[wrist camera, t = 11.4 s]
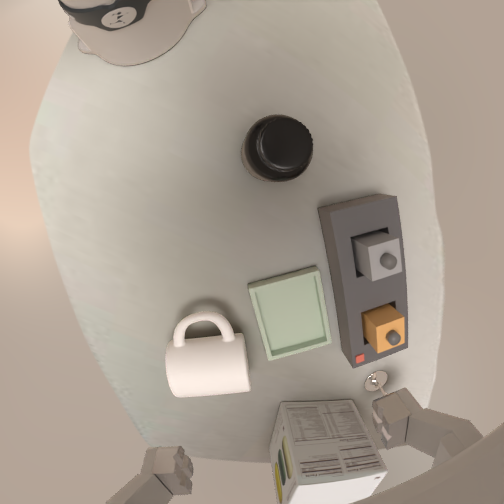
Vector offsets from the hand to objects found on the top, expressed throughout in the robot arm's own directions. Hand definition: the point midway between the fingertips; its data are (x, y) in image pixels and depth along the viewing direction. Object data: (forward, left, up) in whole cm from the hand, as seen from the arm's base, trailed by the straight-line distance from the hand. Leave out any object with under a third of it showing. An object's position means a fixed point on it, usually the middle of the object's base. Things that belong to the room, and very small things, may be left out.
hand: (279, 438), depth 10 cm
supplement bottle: (-12, +6, -29) cm, 32 cm away
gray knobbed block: (+2, +15, -28) cm, 31 cm away
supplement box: (+33, +3, -29) cm, 44 cm away
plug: (+12, +15, -28) cm, 34 cm away
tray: (+9, +4, -29) cm, 31 cm away
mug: (+10, -8, -29) cm, 32 cm away
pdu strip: (+7, +15, -29) cm, 33 cm away
